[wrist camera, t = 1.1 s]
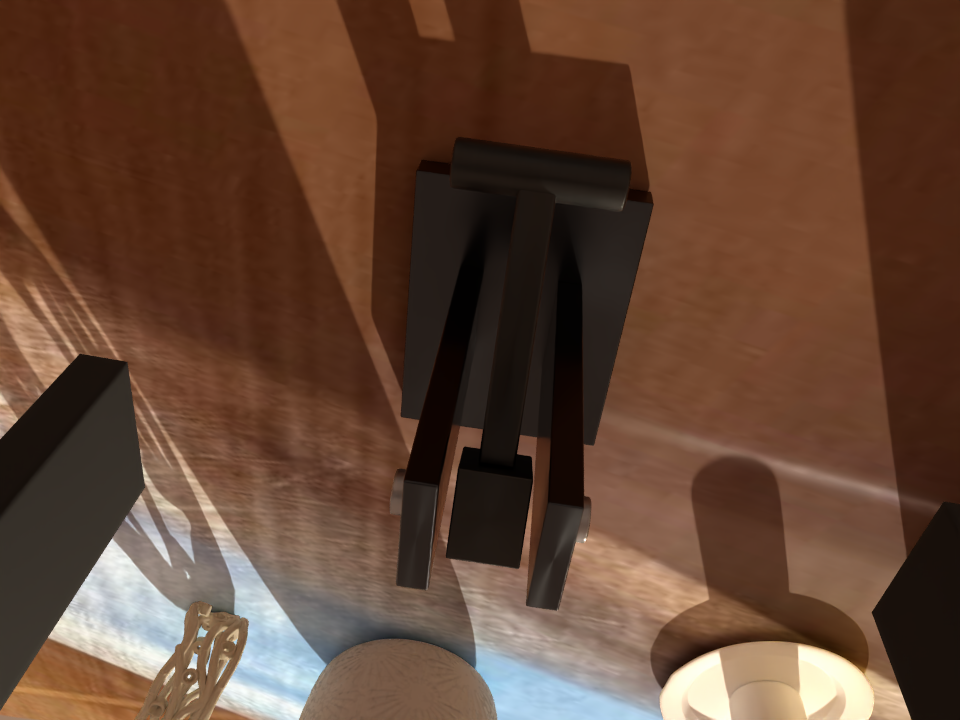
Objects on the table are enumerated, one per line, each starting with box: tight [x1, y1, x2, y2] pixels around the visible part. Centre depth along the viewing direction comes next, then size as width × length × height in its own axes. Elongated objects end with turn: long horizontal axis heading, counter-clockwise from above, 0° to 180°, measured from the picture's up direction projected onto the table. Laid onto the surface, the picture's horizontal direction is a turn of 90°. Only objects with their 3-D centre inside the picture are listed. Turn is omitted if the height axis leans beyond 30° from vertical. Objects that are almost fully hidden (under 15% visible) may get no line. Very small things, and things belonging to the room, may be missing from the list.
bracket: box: [390, 160, 654, 611], centre depth 29 cm, size 12×9×14 cm
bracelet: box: [135, 601, 249, 720], centre depth 46 cm, size 4×8×8 cm, turn 157°
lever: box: [446, 137, 632, 569], centre depth 24 cm, size 12×5×2 cm, turn 174°
